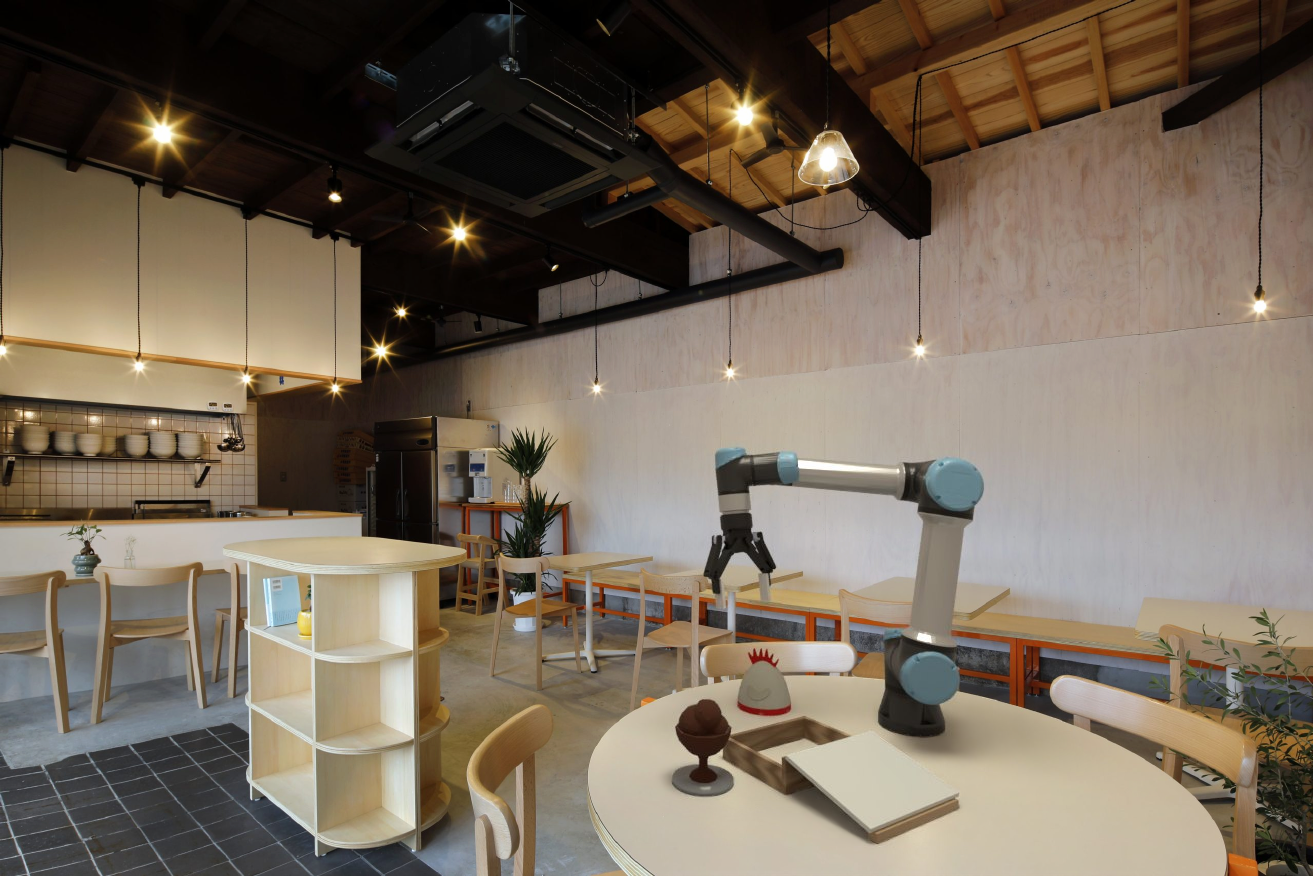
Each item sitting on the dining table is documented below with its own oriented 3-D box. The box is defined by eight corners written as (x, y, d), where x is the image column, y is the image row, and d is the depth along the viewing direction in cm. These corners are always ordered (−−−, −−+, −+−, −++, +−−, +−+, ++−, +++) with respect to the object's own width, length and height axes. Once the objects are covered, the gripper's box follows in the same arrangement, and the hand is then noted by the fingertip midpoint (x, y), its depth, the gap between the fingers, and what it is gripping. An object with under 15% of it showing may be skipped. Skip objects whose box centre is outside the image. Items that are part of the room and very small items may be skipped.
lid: (962, 807, 116) (960, 765, 116) (873, 845, 103) (872, 799, 104) (871, 766, 133) (870, 730, 133) (785, 795, 120) (785, 755, 121)
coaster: (744, 778, 127) (744, 774, 127) (715, 802, 117) (715, 798, 117) (692, 763, 134) (692, 759, 134) (660, 785, 124) (660, 781, 124)
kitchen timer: (745, 695, 178) (745, 640, 179) (795, 702, 172) (795, 645, 174) (731, 711, 165) (731, 651, 166) (784, 719, 160) (784, 657, 161)
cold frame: (871, 766, 133) (871, 733, 133) (785, 795, 120) (785, 759, 121) (804, 736, 149) (804, 707, 149) (722, 758, 136) (722, 726, 137)
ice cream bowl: (736, 769, 129) (735, 692, 130) (723, 794, 119) (723, 710, 120) (685, 761, 133) (685, 687, 134) (668, 785, 122) (669, 703, 123)
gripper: (763, 511, 162) (772, 598, 159) (683, 516, 148) (691, 610, 145) (785, 509, 156) (794, 599, 153) (703, 514, 142) (711, 612, 139)
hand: (744, 605), depth 149 cm, fingers open, 13 cm apart
